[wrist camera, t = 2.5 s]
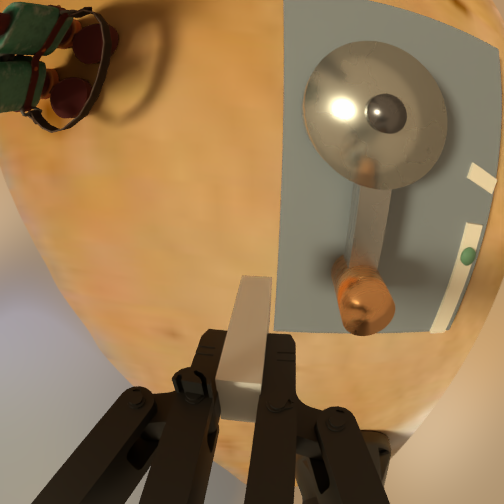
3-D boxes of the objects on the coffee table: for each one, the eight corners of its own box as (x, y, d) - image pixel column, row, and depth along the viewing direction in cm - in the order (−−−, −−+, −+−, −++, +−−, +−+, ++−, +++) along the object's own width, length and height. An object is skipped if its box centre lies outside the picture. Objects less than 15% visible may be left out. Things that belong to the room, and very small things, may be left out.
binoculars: (10, 169, 9) (-63, 121, 7) (105, 134, 18) (27, 100, 16) (77, -15, 5) (-20, -11, 3) (156, 29, 15) (66, 8, 12)
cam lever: (301, 43, 13) (308, 13, 8) (428, 66, 12) (473, 55, 7) (291, 285, 19) (291, 334, 15) (398, 289, 19) (422, 334, 14)
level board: (442, 319, 22) (451, 334, 20) (274, 318, 23) (273, 335, 21) (487, 51, 11) (502, 48, 9) (283, -1, 13) (283, -14, 11)
